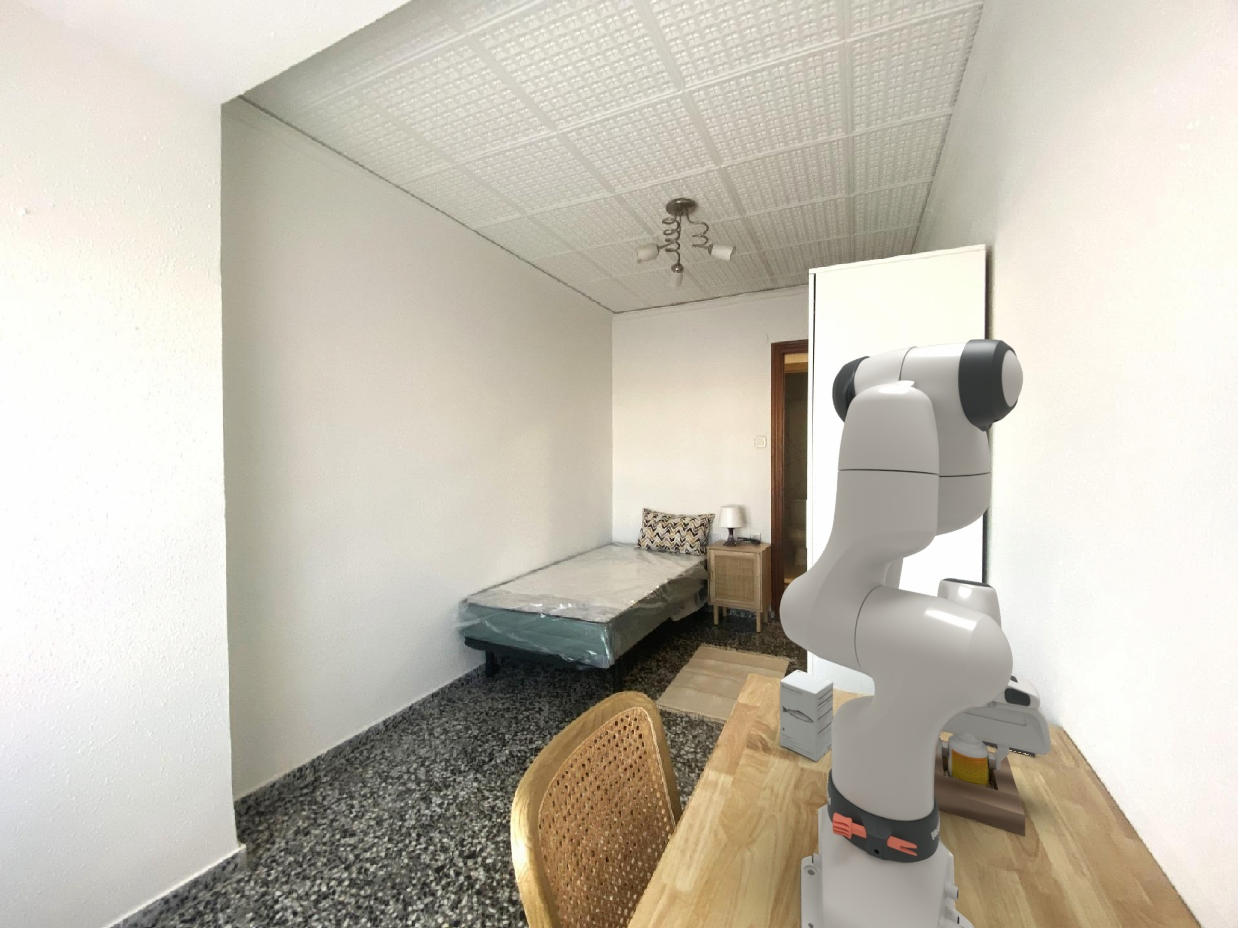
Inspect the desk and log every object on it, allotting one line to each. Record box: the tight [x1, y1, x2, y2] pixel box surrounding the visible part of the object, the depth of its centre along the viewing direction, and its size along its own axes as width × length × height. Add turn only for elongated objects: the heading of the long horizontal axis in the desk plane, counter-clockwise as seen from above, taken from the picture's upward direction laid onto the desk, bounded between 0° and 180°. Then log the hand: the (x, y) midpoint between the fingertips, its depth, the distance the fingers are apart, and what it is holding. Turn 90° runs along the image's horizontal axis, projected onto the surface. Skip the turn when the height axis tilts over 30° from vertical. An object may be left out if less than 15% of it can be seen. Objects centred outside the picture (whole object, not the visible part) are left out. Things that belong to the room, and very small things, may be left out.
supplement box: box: [779, 669, 834, 762], centre depth 91 cm, size 7×7×13 cm
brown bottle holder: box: [934, 739, 1026, 837], centre depth 79 cm, size 16×12×3 cm
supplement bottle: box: [947, 733, 990, 788], centre depth 79 cm, size 5×5×10 cm
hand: (968, 761), depth 79 cm, fingers closed on supplement bottle, 5 cm apart
